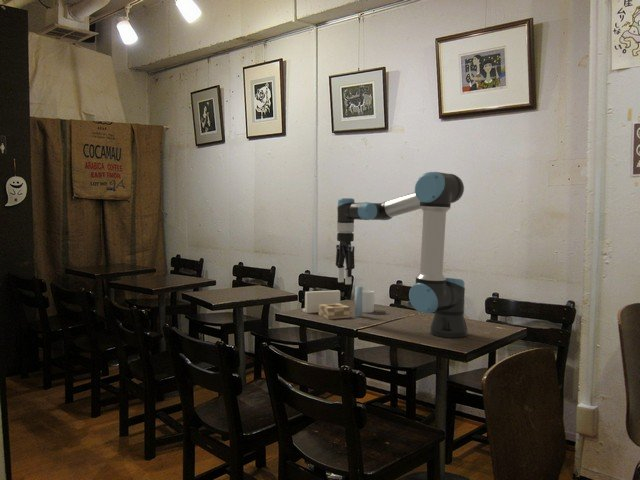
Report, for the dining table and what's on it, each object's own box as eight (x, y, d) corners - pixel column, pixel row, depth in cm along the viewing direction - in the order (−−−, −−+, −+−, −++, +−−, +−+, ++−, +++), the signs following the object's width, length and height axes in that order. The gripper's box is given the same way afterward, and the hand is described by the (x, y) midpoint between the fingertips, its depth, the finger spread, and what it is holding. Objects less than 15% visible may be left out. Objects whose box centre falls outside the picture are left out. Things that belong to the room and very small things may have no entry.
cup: (353, 311, 264) (354, 291, 263) (366, 308, 273) (367, 288, 273) (367, 313, 259) (368, 293, 258) (380, 310, 268) (381, 290, 268)
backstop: (339, 310, 265) (340, 290, 264) (306, 312, 258) (307, 292, 257) (335, 309, 270) (335, 289, 269) (302, 311, 262) (303, 291, 262)
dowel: (363, 316, 251) (363, 287, 250) (356, 317, 249) (357, 287, 248) (359, 315, 254) (360, 286, 253) (353, 315, 252) (354, 286, 252)
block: (349, 317, 248) (349, 306, 248) (328, 319, 243) (328, 308, 243) (339, 313, 258) (339, 303, 258) (318, 314, 253) (318, 304, 253)
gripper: (363, 233, 232) (362, 285, 233) (343, 231, 250) (342, 280, 251) (348, 233, 229) (347, 286, 230) (328, 231, 247) (327, 280, 248)
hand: (344, 283), depth 240 cm, fingers open, 7 cm apart
